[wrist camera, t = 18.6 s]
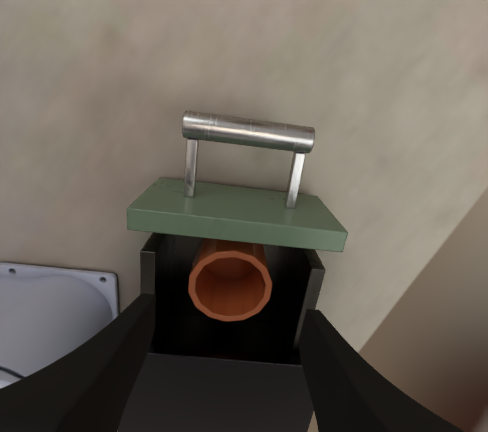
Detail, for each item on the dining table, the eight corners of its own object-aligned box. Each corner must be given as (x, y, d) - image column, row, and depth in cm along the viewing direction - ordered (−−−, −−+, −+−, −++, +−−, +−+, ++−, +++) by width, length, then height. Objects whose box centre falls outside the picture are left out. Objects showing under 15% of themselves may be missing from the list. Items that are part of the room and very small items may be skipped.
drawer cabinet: (152, 273, 24) (113, 350, 16) (300, 287, 24) (327, 367, 17) (151, 381, 28) (119, 481, 21) (276, 390, 29) (289, 490, 21)
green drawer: (160, 105, 18) (124, 105, 12) (332, 127, 19) (375, 138, 13) (156, 310, 24) (130, 376, 18) (288, 322, 25) (304, 390, 19)
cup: (196, 275, 22) (186, 318, 17) (201, 215, 20) (191, 246, 16) (259, 282, 22) (265, 325, 18) (269, 223, 20) (278, 255, 16)
